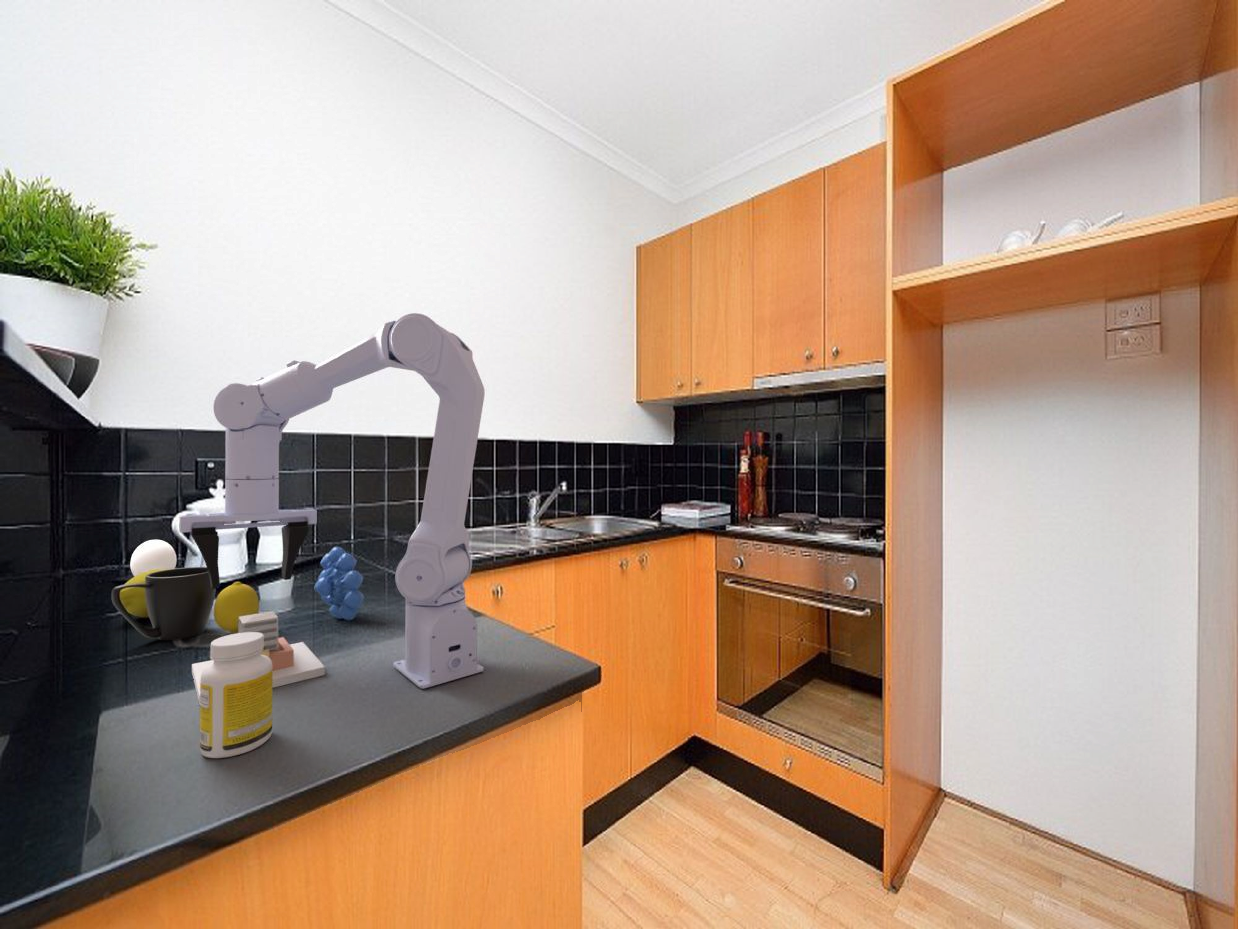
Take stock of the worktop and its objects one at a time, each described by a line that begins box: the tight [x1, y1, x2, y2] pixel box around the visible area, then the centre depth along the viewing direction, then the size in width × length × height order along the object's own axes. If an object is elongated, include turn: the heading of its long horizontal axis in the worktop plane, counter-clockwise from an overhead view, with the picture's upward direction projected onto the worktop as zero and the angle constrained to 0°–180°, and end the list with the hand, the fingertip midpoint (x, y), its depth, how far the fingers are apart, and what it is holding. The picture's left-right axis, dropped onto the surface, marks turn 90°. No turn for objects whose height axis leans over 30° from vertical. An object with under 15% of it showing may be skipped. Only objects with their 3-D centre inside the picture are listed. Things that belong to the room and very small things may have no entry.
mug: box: [110, 566, 216, 641], centre depth 77 cm, size 8×12×10 cm
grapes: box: [313, 546, 365, 621], centre depth 86 cm, size 12×7×12 cm, turn 55°
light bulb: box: [129, 539, 178, 577], centre depth 101 cm, size 7×7×11 cm
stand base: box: [191, 636, 326, 705], centre depth 64 cm, size 12×12×4 cm
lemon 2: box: [213, 581, 260, 634], centre depth 78 cm, size 6×6×8 cm
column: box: [238, 610, 279, 653], centre depth 64 cm, size 4×4×6 cm
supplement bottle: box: [199, 632, 274, 759], centre depth 48 cm, size 5×5×10 cm
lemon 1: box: [120, 569, 169, 619], centre depth 87 cm, size 11×8×8 cm
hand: (252, 582), depth 67 cm, fingers open, 7 cm apart
